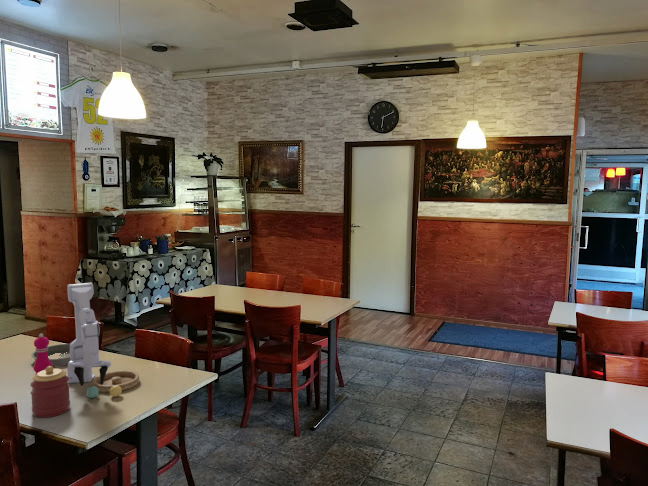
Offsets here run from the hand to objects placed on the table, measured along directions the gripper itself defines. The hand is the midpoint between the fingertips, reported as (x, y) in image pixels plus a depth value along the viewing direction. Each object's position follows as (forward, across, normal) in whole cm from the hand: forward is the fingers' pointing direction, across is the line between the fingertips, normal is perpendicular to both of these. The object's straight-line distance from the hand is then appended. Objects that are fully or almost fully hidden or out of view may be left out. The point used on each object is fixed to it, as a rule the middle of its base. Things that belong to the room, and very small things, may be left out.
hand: (92, 384), depth 201 cm
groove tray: (+6, +6, +14) cm, 16 cm away
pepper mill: (+6, -29, +28) cm, 40 cm away
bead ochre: (+6, +9, 0) cm, 11 cm away
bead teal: (+6, 0, 0) cm, 6 cm away
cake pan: (+6, -30, +52) cm, 60 cm away
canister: (+6, -12, -10) cm, 17 cm away
